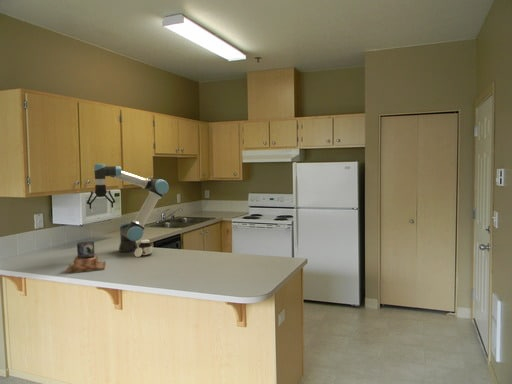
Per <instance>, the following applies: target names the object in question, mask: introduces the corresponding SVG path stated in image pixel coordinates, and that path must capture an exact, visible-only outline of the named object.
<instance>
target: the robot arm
mask: <svg viewBox="0 0 512 384" xmlns="http://www.w3.org/2000/svg"><path fill="white" fill-rule="evenodd" d="M93 166H94V167H93V168H94V169H93V172H94V184H95V186H94V188H95V189H94V190H95V191H94V190H93V191H90V194H89V197H88V199H87V202H86V204H87V205H89V210H90V211H91V212H90V213H91V214H93V213H94V209H93V202H95V200H96V199H97V198H102V197H105V198H106V199H107V201H109V202H110V204H109V206H110V213H112V211H113V210H112V208H114V204H115V203H116V200H115V198H114V196H113V194H112V193H111V190H107V185H106V182H107V181H106V177H110V178H114V179H116V180H119V181H122V182H125V183H129V184H132V185H134V186H135V185H136V186H138V187H141V188H142V189H144V190H146V191H148V195H147V197H146V199H145V201H144V203H143V204H142V206H141V208H140V209H139V211H138V213H137V215H136V217H135V219H134V220H131V221H130V222H125V223H124V222H122V223H120V224H119V235H120V236H119V237H120V243H119V246H118V252H119V253H133V252H134V253H135V250H136V249H137V248H138V247H139V245H138V244H137V241H139V240H140V241H141V240H142V238H143V237H144V230H145V224H146V222H147V221H148V219H149V217H150V216H151V213H152V212H153V210H154V208H155V206H156V205H157V203H158V201H159V200H160V199H162V198H163V196H164V195H165V194H167V193H168V192H169V190H170V189H169V187H170V186H169V183H168V182H167V180H164V179H163V178H162V179H157V178H150V177H142V176H139V175H136V174H134V173H130V172H128V171H125V170H122V167H121V166H119V165H116V166H115V165H106V164H105V163H95V164H94V165H93ZM94 194H95V196H94V197H93V195H94ZM107 194H108V195H109V196H110V197H109V196H108V195H107ZM92 197H93V199H92ZM91 199H92V200H91Z"/></svg>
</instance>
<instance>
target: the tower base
mask: <svg viewBox="0 0 512 384" xmlns="http://www.w3.org/2000/svg"><path fill="white" fill-rule="evenodd" d="M98 255H99V254H98V253H96V254H95V256H94V258H80V259H78V255H76V256H75V258H74V260H73V263H70V264H68V266H67V268H66V269H65V274H73V273H82V272H83V273H84V272H93V271H95V272H96V271H105V268H106V263H107V262H106V260H104V261H102V260H101V261H99V258H98V257H99V256H98Z"/></svg>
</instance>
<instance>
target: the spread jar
mask: <svg viewBox="0 0 512 384" xmlns="http://www.w3.org/2000/svg"><path fill="white" fill-rule="evenodd" d="M152 254H153V245H152V243H151V242H150V240H149V239H140V243H139V244H138V248H137V249H136V250H135V251H134V256H135V257H136V258H140V257H149V256H151V255H152ZM148 255H149V256H148Z"/></svg>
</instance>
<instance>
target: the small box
mask: <svg viewBox="0 0 512 384" xmlns="http://www.w3.org/2000/svg"><path fill="white" fill-rule="evenodd" d="M76 244H77V246H76V249H77V251H76V252H77V256H78V259H80V258H94V256H95V241H94V240H93V241H92V240H90V241H79V242H77V243H76Z"/></svg>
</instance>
